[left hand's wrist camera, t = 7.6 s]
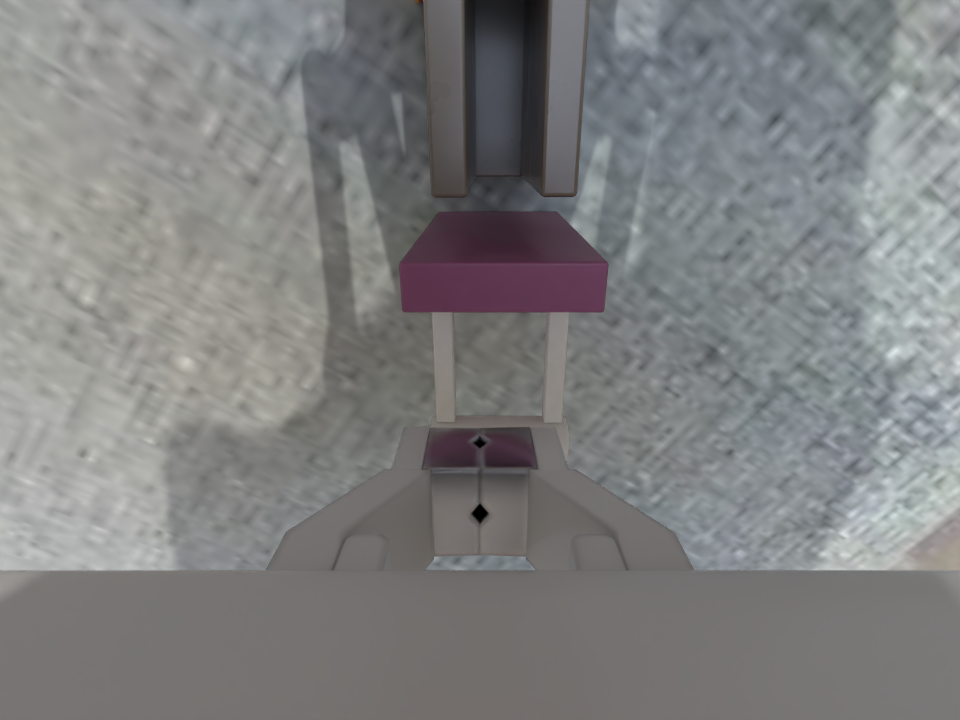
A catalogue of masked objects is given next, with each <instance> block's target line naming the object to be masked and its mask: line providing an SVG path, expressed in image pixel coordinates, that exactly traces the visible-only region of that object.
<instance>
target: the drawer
mask: <svg viewBox="0 0 960 720" xmlns="http://www.w3.org/2000/svg"><path fill="white" fill-rule="evenodd" d="M589 2H590V0H423V7H424V31H425V55H426V80H427V104H428V128H429V153H430V177H431V194H432V196H433V197H465V196H467V194H468V191H469V189H470V187H471V185H472V183H473V181H474V179H475V176H522V177H523V178H524V179H525V180H526V181H527V182H528V183H529V184H530V185H531V186H532V187H533V188H534V189H535V190H536V191H537V192H538V193H539V194H540V195H541V196H543V197H573V196H576V194H577V186H578V171H579V155H580V140H581V125H582V109H583V94H584V79H585V63H586V48H587V33H588V18H589ZM399 271H400V285H401V300H402V310H403V312H432V329H433V351H434V374H435V396H436V415H435V416H433V418H432V420H431V427H456V428H501V427H550V426H554V427H555V428H556V429H557V432H558V436H559V439H560V442H561V446H562V449H563V452H564V456H565V459H566V462H567V459H568V453H569V431H568V424H567V420H566V418H565V417H564V416H562V414H563V399H564V384H565V369H566V353H567V338H568V323H569V312H603V311H604V306H605V296H606V285H607V274H608V262H607V261H606V260H605V259H604V258H603V257H602V256H601V255H600V254H599V253H598V252H597V251H596V250H595V249H594V248H593V247H592V246H591V245H590V244H589V243H588V242H587V241H586V240H585V239H584V238H583V237H582V236H581V235H580V234H579V233H578V232H577V231H576V230H575V229H574V228H573V227H572V226H571V225H570V224H569V223H568V222H567V221H566V220H565V219H564V218H563V217H562V216H561V215H560V214H559V213H558V212H438V214H437V215H436V216H435V218H434V219H433V220H432V222H431V223H430V224H429V225H428V227H427V228H426V229H425V231H424V232H423V233H422V235H421V236H420V237H419V239H418V240H417V241H416V242H415V244H414V245H413V246H412V248H411V249H410V250H409V252H408V253H407V254H406V255H405V257H404V258H403V259H402V261H401V262H400V264H399ZM453 312H547V314H546V335H545V357H544V378H543V399H542V416H456V388H455V351H454V315H453ZM431 427H430V428H431Z"/></svg>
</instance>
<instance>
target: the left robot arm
mask: <svg viewBox="0 0 960 720" xmlns="http://www.w3.org/2000/svg"><path fill="white" fill-rule="evenodd" d="M464 555H495V556H526V559H527V560H528V561H529V562H530V564H531V565H532V566H533V567H534V568H535V570H536V571H424V570H425V569H426V568H427V566H428V565H429V564H430V563H431V562H432V560H433V559H434V556H464ZM0 720H960V571H926V570H694V569H693V567H692V565H691V563H690V561H689V559H688V557H687V555H686V554H685V552H684V550H683V548H682V546H681V544H680V542H679V540H678V538H677V537H676V535H675V533H674V532H673V531H671V530H670V529H668V528H666V527H665V526H663V525H662V524H660V523H659V522H657V521H655V520H654V519H652V518H651V517H649V516H648V515H646V514H645V513H643V512H641V511H640V510H638V509H637V508H635V507H634V506H632V505H630V504H629V503H627V502H626V501H624V500H623V499H621V498H619V497H618V496H616V495H615V494H613V493H612V492H610V491H608V490H607V489H605V488H604V487H602V486H601V485H599V484H598V483H596V482H594V481H593V480H591V479H590V478H588V477H587V476H585V475H583V474H582V473H580V472H579V471H577V470H569V469H568V466H567V462H566V459H565V456H564V452H563V449H562V446H561V442H560V439H559V436H558V432H557V429H556V428H555V427H554V426H550V427H501V428H456V427H431V428H430V427H429V426H426V427H405V428H404V429H403V432H402V435H401V438H400V442H399V445H398V449H397V452H396V455H395V459H394V462H393V466H392V469H391V470H383V471H381V472H380V473H378V474H377V475H375V476H373V477H372V478H370V479H369V480H367V481H366V482H364V483H362V484H361V485H359V486H358V487H356V488H355V489H353V490H351V491H350V492H348V493H347V494H345V495H344V496H342V497H340V498H339V499H337V500H336V501H334V502H332V503H331V504H329V505H328V506H326V507H325V508H323V509H321V510H320V511H318V512H317V513H315V514H314V515H312V516H310V517H309V518H307V519H306V520H304V521H303V522H301V523H299V524H298V525H296V526H295V527H293V528H292V529H290V530H288V531H287V532H286V533H285V535H284V537H283V539H282V541H281V543H280V544H279V546H278V548H277V550H276V552H275V554H274V556H273V558H272V559H271V561H270V563H269V565H268V567H267V569H266V571H0Z"/></svg>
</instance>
